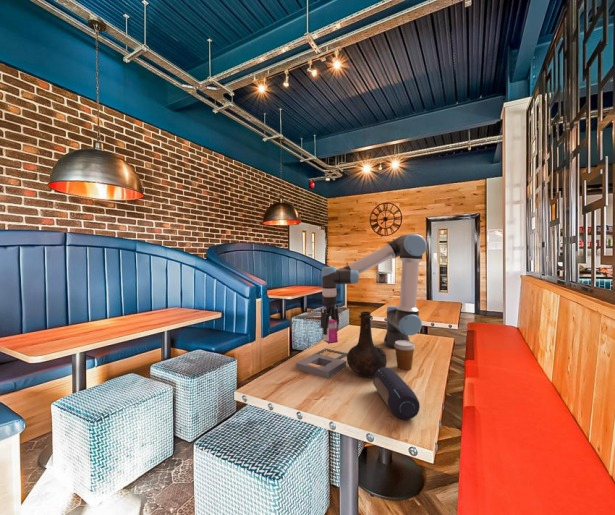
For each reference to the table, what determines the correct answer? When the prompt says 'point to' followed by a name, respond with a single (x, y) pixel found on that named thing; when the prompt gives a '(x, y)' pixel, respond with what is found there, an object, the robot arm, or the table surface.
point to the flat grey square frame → (335, 352)
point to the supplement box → (332, 331)
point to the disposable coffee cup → (404, 354)
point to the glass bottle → (366, 351)
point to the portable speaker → (396, 393)
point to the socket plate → (325, 371)
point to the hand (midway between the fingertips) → (330, 338)
